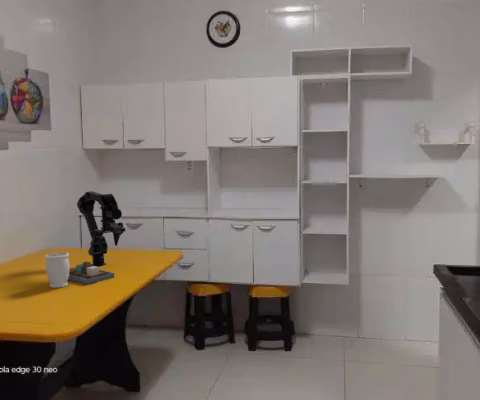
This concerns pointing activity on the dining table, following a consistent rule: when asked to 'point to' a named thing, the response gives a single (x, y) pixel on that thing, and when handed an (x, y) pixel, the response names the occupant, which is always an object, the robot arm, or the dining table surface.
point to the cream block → (92, 270)
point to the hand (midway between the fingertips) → (109, 247)
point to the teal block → (79, 268)
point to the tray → (92, 280)
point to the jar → (57, 269)
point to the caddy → (85, 272)
